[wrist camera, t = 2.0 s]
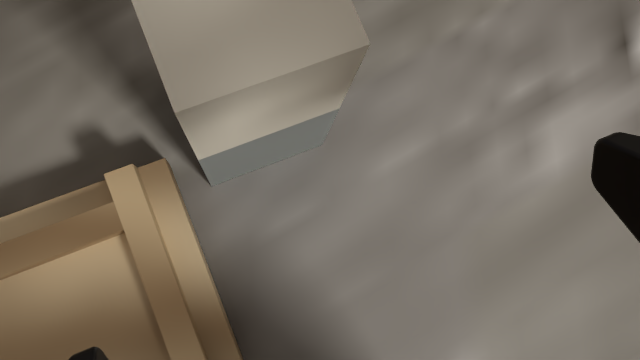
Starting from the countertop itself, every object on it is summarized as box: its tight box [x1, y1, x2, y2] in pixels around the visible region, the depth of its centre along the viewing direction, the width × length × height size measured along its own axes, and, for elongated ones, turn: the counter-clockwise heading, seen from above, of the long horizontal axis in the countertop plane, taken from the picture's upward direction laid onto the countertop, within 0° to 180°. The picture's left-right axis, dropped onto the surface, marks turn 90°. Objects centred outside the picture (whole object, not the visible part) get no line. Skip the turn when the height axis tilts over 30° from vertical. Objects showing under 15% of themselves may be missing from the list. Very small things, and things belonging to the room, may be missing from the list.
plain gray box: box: [131, 0, 370, 186], centre depth 18 cm, size 4×4×10 cm
